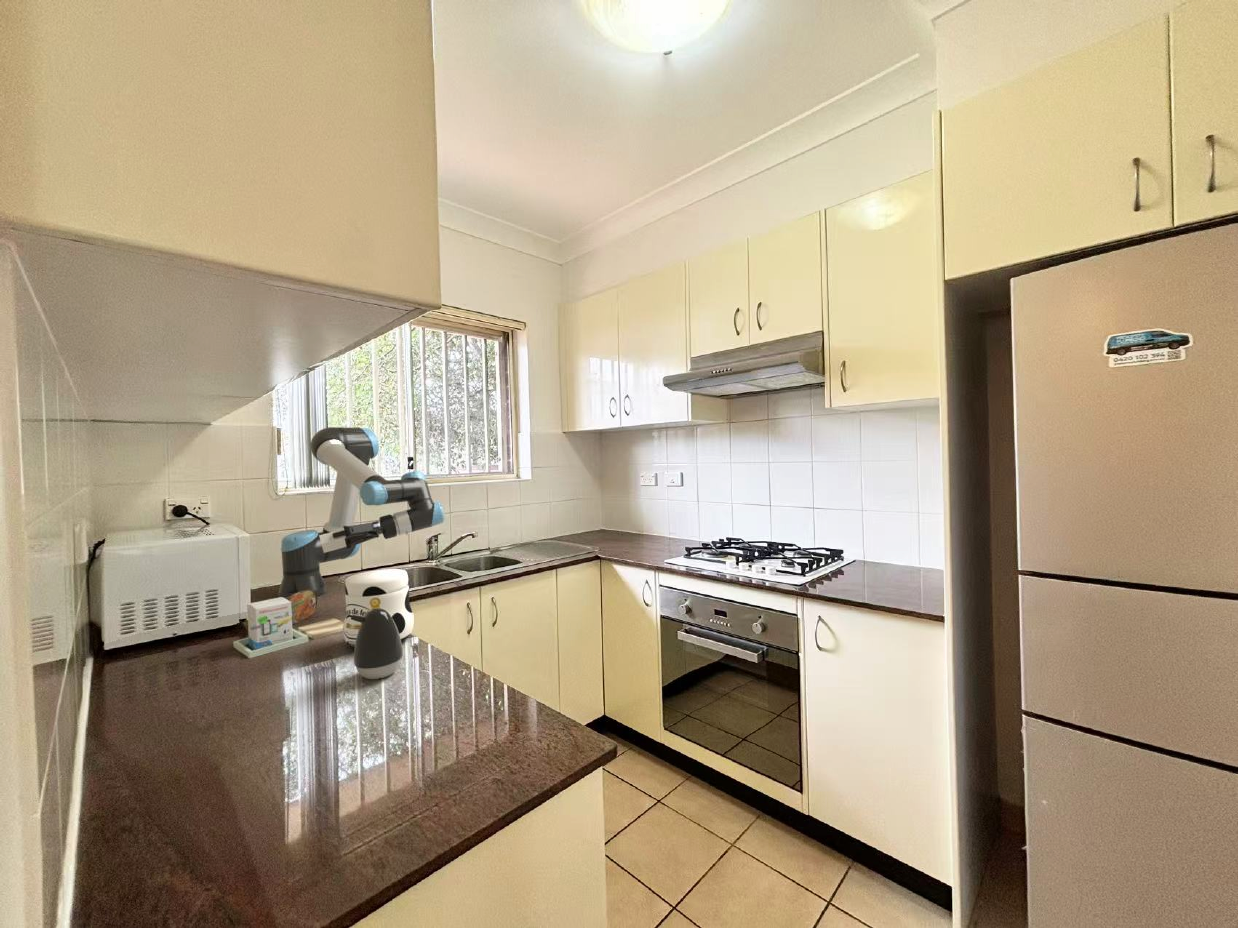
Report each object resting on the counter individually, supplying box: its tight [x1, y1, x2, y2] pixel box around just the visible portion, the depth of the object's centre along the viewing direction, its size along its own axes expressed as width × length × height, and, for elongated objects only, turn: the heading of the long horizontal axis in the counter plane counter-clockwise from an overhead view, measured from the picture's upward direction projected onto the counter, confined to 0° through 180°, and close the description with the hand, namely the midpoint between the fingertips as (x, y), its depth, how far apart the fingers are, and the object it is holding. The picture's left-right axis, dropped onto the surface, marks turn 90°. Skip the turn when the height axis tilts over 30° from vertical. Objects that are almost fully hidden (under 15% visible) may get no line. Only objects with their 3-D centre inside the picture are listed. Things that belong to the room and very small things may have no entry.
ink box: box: [246, 597, 294, 651], centre depth 139 cm, size 9×8×12 cm
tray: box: [233, 627, 309, 659], centre depth 140 cm, size 14×14×2 cm
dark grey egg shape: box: [351, 608, 404, 680], centre depth 117 cm, size 10×10×15 cm
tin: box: [285, 590, 318, 625], centre depth 161 cm, size 15×3×8 cm, turn 179°
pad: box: [297, 617, 344, 640], centre depth 150 cm, size 12×10×1 cm
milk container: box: [342, 568, 415, 649], centre depth 138 cm, size 17×17×18 cm
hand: (321, 544), depth 156 cm, fingers open, 13 cm apart
